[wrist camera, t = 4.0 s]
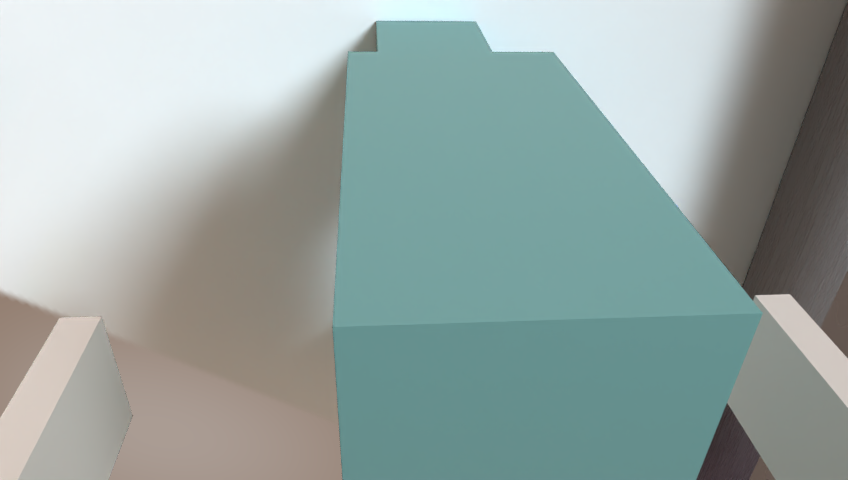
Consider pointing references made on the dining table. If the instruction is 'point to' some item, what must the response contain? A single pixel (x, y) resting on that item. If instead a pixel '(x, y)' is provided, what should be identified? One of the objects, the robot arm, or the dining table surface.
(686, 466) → the clip
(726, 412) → the rail
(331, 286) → the dining table surface
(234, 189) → the dining table surface
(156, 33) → the dining table surface
